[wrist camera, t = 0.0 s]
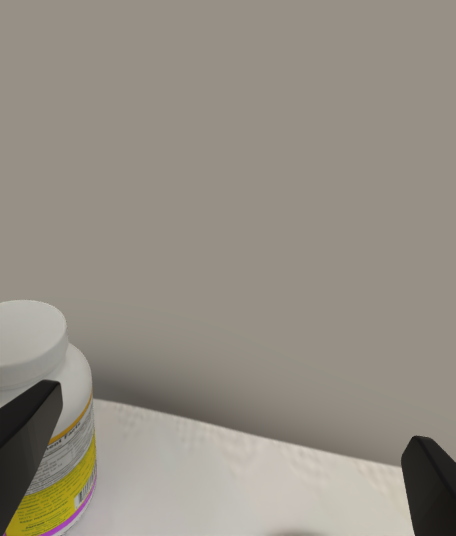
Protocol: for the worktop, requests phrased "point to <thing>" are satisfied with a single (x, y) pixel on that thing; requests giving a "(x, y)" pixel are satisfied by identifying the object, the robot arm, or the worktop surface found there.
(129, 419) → the worktop surface
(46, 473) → the supplement bottle
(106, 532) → the worktop surface
